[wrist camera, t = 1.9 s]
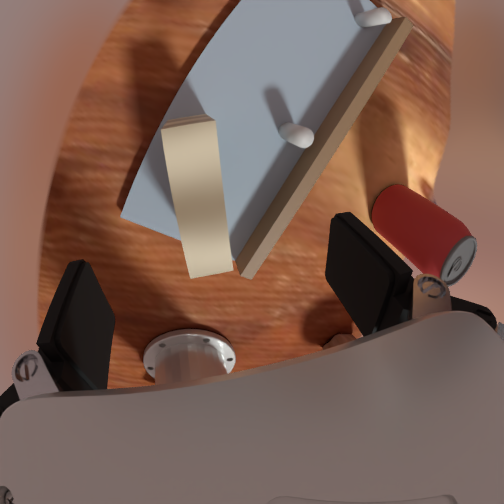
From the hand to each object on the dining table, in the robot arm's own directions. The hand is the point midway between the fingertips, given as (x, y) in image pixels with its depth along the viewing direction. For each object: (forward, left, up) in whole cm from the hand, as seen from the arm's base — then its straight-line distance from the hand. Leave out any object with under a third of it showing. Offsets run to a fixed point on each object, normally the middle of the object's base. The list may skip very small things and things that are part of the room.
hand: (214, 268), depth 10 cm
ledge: (+8, -3, -15) cm, 17 cm away
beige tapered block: (-1, 0, -14) cm, 14 cm away
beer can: (+6, -22, -15) cm, 27 cm away
